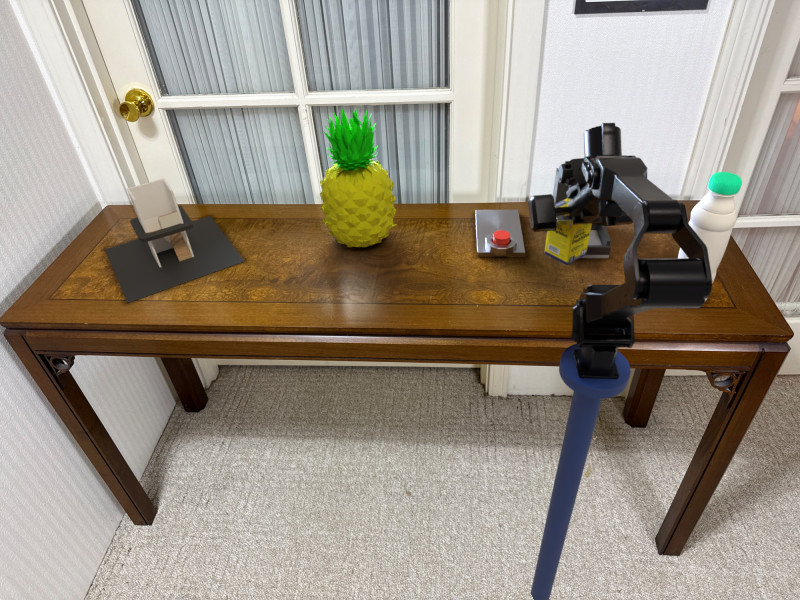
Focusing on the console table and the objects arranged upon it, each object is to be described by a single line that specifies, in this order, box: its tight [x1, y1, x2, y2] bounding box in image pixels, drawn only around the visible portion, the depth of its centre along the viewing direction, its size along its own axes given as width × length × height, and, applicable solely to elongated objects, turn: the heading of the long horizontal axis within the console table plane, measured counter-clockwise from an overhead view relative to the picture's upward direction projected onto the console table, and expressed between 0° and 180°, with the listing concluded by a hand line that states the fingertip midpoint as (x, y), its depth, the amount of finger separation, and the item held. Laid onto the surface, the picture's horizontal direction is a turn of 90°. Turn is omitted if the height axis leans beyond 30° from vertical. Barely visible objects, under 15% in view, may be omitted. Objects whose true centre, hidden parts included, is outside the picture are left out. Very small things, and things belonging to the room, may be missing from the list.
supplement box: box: [544, 198, 592, 266], centre depth 109 cm, size 6×6×11 cm
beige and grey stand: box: [104, 177, 245, 304], centre depth 122 cm, size 25×24×16 cm
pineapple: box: [319, 107, 397, 248], centre depth 120 cm, size 17×17×30 cm
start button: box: [493, 230, 510, 246], centre depth 120 cm, size 4×4×2 cm
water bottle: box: [677, 171, 743, 303], centre depth 100 cm, size 7×7×25 cm
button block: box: [474, 209, 526, 258], centre depth 126 cm, size 19×10×3 cm, turn 176°
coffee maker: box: [552, 167, 612, 259], centre depth 120 cm, size 14×11×14 cm
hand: (567, 222), depth 109 cm, fingers closed on supplement box, 8 cm apart
